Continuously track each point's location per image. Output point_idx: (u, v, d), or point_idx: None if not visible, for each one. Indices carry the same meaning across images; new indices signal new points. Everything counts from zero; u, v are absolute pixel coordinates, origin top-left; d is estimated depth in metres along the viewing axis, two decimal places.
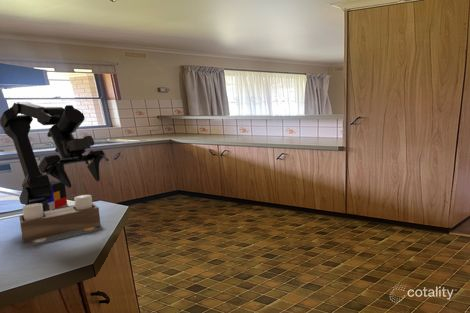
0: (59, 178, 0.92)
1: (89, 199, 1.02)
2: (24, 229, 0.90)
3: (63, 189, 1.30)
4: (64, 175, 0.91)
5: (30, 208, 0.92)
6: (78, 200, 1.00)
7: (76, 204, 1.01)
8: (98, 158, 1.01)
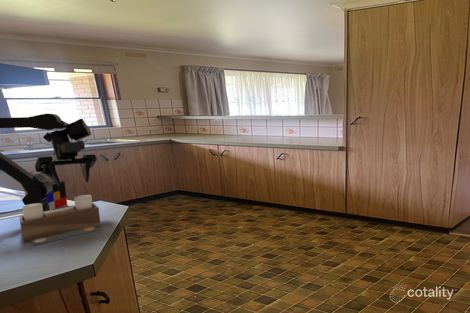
0: (51, 177, 1.04)
1: (89, 199, 1.02)
2: (24, 229, 0.90)
3: (63, 189, 1.30)
4: (54, 174, 1.03)
5: (30, 208, 0.92)
6: (78, 200, 1.00)
7: (76, 204, 1.01)
8: (89, 161, 1.12)
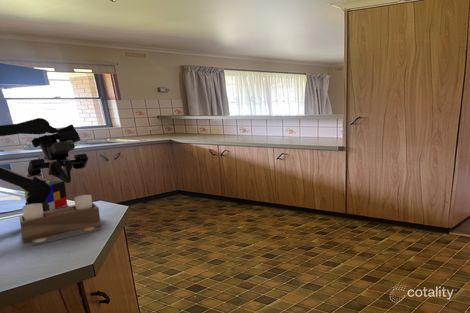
0: (59, 176, 1.08)
1: (89, 199, 1.02)
2: (24, 229, 0.90)
3: (63, 189, 1.30)
4: (62, 172, 1.07)
5: (30, 208, 0.92)
6: (78, 200, 1.00)
7: (76, 204, 1.01)
8: (69, 162, 1.10)
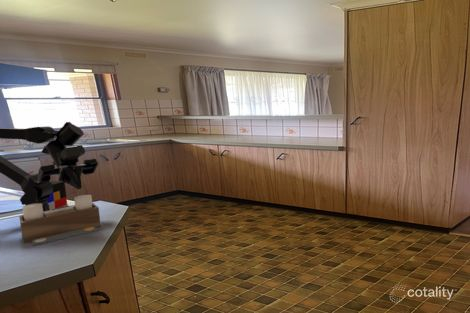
0: (69, 182, 1.05)
1: (89, 199, 1.02)
2: (24, 229, 0.90)
3: (63, 189, 1.30)
4: (73, 178, 1.04)
5: (30, 208, 0.92)
6: (78, 200, 1.00)
7: (76, 204, 1.01)
8: (79, 167, 1.07)
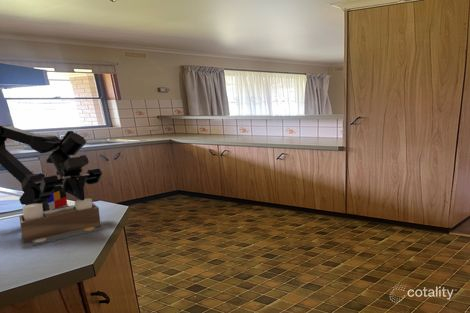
0: (72, 193, 1.03)
1: (89, 203, 1.02)
2: (24, 229, 0.90)
3: None
4: (76, 189, 1.03)
5: (30, 208, 0.92)
6: (78, 204, 1.00)
7: (76, 208, 1.01)
8: (82, 178, 1.05)
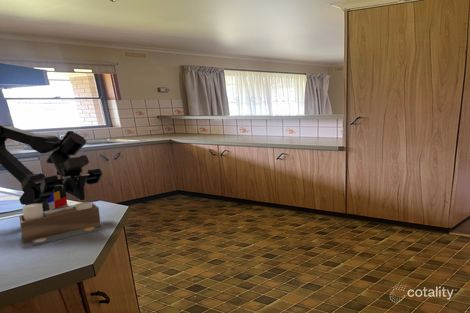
0: (73, 193, 1.03)
1: (90, 207, 1.02)
2: (24, 229, 0.90)
3: None
4: (76, 189, 1.03)
5: (30, 208, 0.92)
6: (79, 208, 1.01)
7: None
8: (82, 178, 1.05)
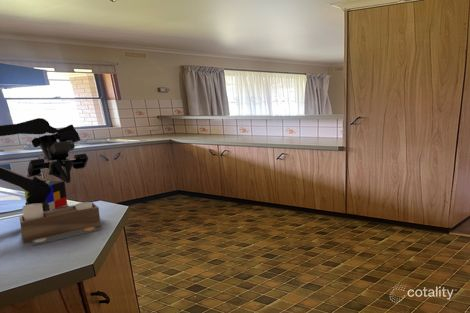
0: (59, 176, 1.08)
1: (90, 207, 1.02)
2: (24, 229, 0.90)
3: (63, 189, 1.30)
4: (62, 172, 1.07)
5: (30, 208, 0.92)
6: (79, 208, 1.01)
7: None
8: (68, 162, 1.10)
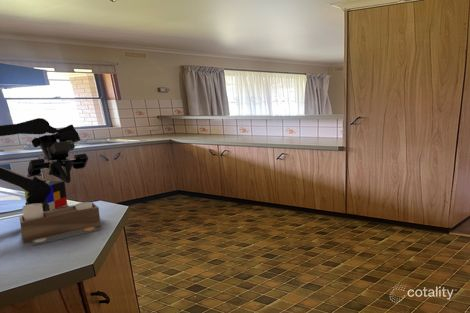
0: (59, 176, 1.08)
1: (90, 207, 1.02)
2: (24, 229, 0.90)
3: (63, 189, 1.30)
4: (62, 172, 1.08)
5: (30, 208, 0.92)
6: (79, 208, 1.01)
7: None
8: (68, 162, 1.10)
